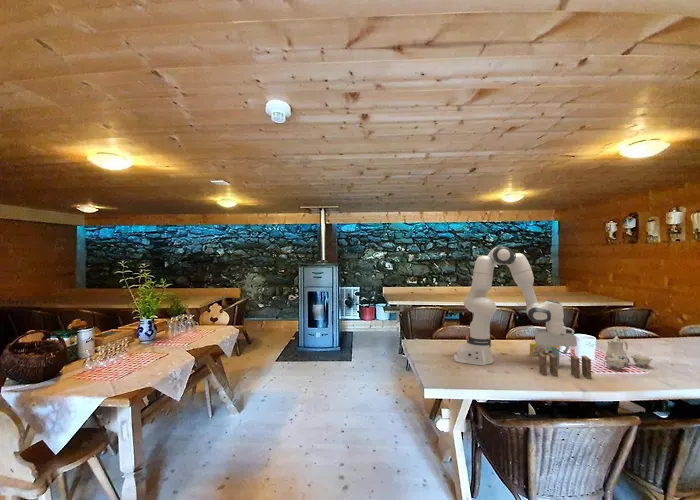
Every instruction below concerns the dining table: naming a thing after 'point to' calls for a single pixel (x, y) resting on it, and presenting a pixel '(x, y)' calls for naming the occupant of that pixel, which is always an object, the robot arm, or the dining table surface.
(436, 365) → the dining table surface
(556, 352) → the placed domino
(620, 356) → the chinaware
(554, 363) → the domino
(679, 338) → the dining table surface
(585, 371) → the domino
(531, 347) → the candy box
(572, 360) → the domino
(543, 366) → the domino
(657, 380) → the dining table surface
